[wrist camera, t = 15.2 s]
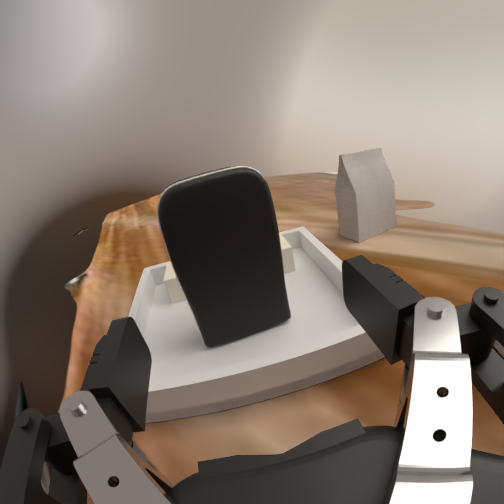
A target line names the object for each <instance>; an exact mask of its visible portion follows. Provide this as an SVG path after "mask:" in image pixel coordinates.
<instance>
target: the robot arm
mask: <svg viewBox="0 0 504 504" xmlns="http://www.w3.org/2000/svg"><path fill="white" fill-rule="evenodd" d="M342 281H343V297H344V302H345V305H346V307H347V309H348V311H349V312H350V313H351V314H352V316H353V317H354V318H355V319H356V321H357V322H358V323H359V324H360V326H361V327H362V328H363V329H364V331H365V332H366V333H367V335H368V336H369V337H370V338H371V340H372V341H373V342H374V343H375V345H376V346H377V347H378V349H379V350H380V351H381V352H382V354H383V355H384V356H385V358H386V359H387V360H388V361H389V363H390V364H391V365H392V364H394V363H396V362H398V361H400V360H403V362H404V363H405V366H404V372H403V379H402V386H401V393H400V399H399V405H398V410H397V415H396V419H395V423H394V426H393V427H392V426H368V427H362V425H361V423H360V422H359V420H358V418H357V419H355V420H352V421H350V422H347V423H345V424H342V425H340V426H337V427H334V428H332V429H329V430H326V431H323V432H320V433H319V434H317V435H315V436H314V437H312V438H310V439H308V440H307V441H305V442H303V443H301V444H300V445H298V446H296V447H294V448H292V449H291V450H289V451H287V452H285V453H282V454H277V455H235V456H230V457H225V458H219V459H213V460H206V461H199V462H198V469H199V472H198V473H195V474H193V475H191V476H189V477H187V478H185V479H184V480H182V481H180V482H179V483H178V484H176V485H175V486H174V485H173V484H172V483H171V482H170V481H169V480H168V479H167V478H166V477H165V476H164V475H163V474H162V473H161V472H160V471H159V470H158V469H157V468H156V467H155V465H154V464H153V463H152V462H151V461H150V460H149V458H148V457H147V456H146V455H145V454H144V453H143V451H142V450H141V449H140V448H139V446H138V445H137V444H136V443H135V442H134V441H133V440H132V436H133V432H140V431H145V421H146V410H147V399H148V390H149V381H150V373H151V365H152V358H151V353H150V350H149V348H148V346H147V344H146V342H145V340H144V338H143V336H142V334H141V332H140V330H139V328H138V326H137V324H136V322H135V320H134V319H133V318H132V317H126V318H121V319H117V320H113V321H112V322H111V325H110V327H109V330H108V333H107V335H104V336H103V337H102V339H101V340H100V341H99V342H98V344H97V345H96V347H95V350H94V352H93V357H92V358H91V361H90V365H89V366H88V369H87V372H86V375H85V378H84V381H83V384H82V387H81V390H80V391H78V392H75V393H73V394H71V395H70V396H68V397H67V398H66V399H65V400H64V402H63V403H62V405H61V407H60V413H57V414H54V415H51V416H48V417H46V418H45V417H44V416H43V415H42V414H41V413H40V412H39V411H38V410H37V409H34V408H29V409H26V410H24V411H23V412H22V413H20V414H19V416H18V417H17V418H16V420H15V422H14V425H13V428H12V431H11V434H10V437H9V441H8V444H7V447H6V451H5V455H4V459H3V462H2V466H1V470H0V504H87V491H88V493H89V495H90V497H91V498H92V500H93V502H94V503H95V504H504V456H500V455H495V454H490V453H486V452H482V451H477V450H473V449H471V444H472V383H473V384H474V386H475V387H476V388H477V390H478V391H479V392H480V393H481V395H482V396H483V397H484V399H485V400H486V401H487V402H488V404H489V405H490V406H491V408H492V409H493V410H494V412H495V413H496V414H497V416H498V417H499V419H500V420H501V421H502V423H503V424H504V360H503V359H502V358H501V357H500V356H499V354H498V353H497V352H496V351H495V350H494V349H493V346H494V343H495V341H496V340H497V341H498V342H499V343H500V344H501V345H502V346H503V347H504V293H503V292H501V291H500V290H498V289H495V288H491V287H482V288H479V289H477V290H476V291H475V292H474V294H473V298H472V302H471V303H469V304H465V305H460V306H455V307H454V305H453V304H452V303H451V302H449V301H448V300H446V299H443V298H439V297H428V298H425V297H424V296H422V295H421V294H420V293H419V292H418V291H416V290H415V289H414V288H413V287H412V286H410V285H409V284H408V283H407V282H405V281H403V279H402V278H400V277H399V276H397V275H396V274H395V273H394V272H393V271H392V270H390V269H389V268H387V267H385V266H382V265H379V264H372V263H371V262H370V261H369V260H367V259H366V258H365V257H364V256H362V255H360V256H356V257H353V258H350V259H347V260H344V261H343V262H342ZM44 461H45V462H46V463H48V464H49V465H50V466H51V467H52V473H51V479H50V486H49V494H46V493H45V491H44V490H43V488H42V485H41V476H42V470H43V465H44Z"/></svg>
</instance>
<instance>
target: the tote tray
mask: <svg viewBox="0 0 504 504" xmlns="http://www.w3.org/2000/svg"><path fill="white" fill-rule="evenodd" d="M280 234H281V235H282V236H283V237H284V238H285V239H286V241H287V242H288V243H289V244H290V245H291V247H292V251H293V257H294V264H295V270H296V271H293V272H290V273H286V274H284V277H285V285H286V291H287V296H288V302H289V307H290V312H291V318H290V319H289V320H286V321H284V322H282V323H280V324H277V325H275V326H272V327H270V328H267V329H265V330H262V331H260V332H257V333H254V334H251V335H249V336H246V337H243V338H240V339H237V340H233V341H230V342H227V343H224V344H220V345H216V346H213V347H207V346H206V345H205V343H203V341H202V338H201V335H200V332H199V330H198V327H197V324H196V322H195V319H194V316H193V314H192V312H191V309H190V307H189V305H188V302H187V300H185V301H181V302H177V303H173V304H172V302H171V299H170V297H169V294H168V292H167V289H166V287H165V284H164V281H163V280H164V275H165V270H166V265H167V262H166V263H162V264H158V265H155V266H151V267H147V268H144V270H143V273H142V276H141V279H140V282H139V285H138V288H137V291H136V294H135V297H134V300H133V303H132V306H131V309H130V312H129V316H128V317H132V318H133V319H134V320H135V322H136V324H137V326H138V328H139V330H140V332H141V334H142V336H143V338H144V340H145V342H146V344H147V346H148V348H149V350H150V353H151V358H152V365H151V373H150V381H149V390H148V399H147V410H146V421H145V423H151V422H159V421H167V420H174V419H180V418H187V417H192V416H198V415H203V414H209V413H214V412H218V411H223V410H228V409H232V408H237V407H241V406H245V405H249V404H253V403H257V402H261V401H264V400H268V399H271V398H275V397H278V396H282V395H285V394H289V393H292V392H295V391H298V390H301V389H304V388H307V387H310V386H313V385H316V384H319V383H322V382H325V381H328V380H330V379H333V378H336V377H338V376H341V375H344V374H346V373H349V372H351V371H354V370H356V369H359V368H361V367H364V366H366V365H368V364H371V363H373V362H375V361H378V360H380V359H382V358H384V357H385V356H384V355H383V354H382V352H381V351H380V350H379V349H378V347H377V346H376V345H375V343H374V342H373V341H372V340H371V338H370V337H369V336H368V335H367V333H366V332H365V331H364V329H363V328H362V327H361V326H360V324H359V323H358V322H357V321H356V319H355V318H354V317H353V316H352V314H351V313H350V312H349V311H348V309H347V307H346V305H345V302H344V297H343V281H342V261H341V260H340V259H339V258H338V257H337V256H336V255H334V254H333V253H332V252H331V251H330V250H329V249H328V248H327V247H326V246H325V245H323V244H322V243H321V242H320V241H319V240H318V239H317V238H316V237H314V236H313V235H312V234H311V233H310V232H309V231H308V230H307V229H305V228H304V227H299V228H295V229H291V230H287V231H284V232H280Z"/></svg>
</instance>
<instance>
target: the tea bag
mask: <svg viewBox="0 0 504 504" xmlns="http://www.w3.org/2000/svg"><path fill="white" fill-rule="evenodd" d="M394 191H395V190H394V181H393V179H392V176H391V173H390V171H389V169H388V166H387V164H386V162H385V159H384V157H383V154H382V150H381V148H376V149H371V150H365V151H360V152H355V153H350V154H345V155H340V156H339V169H338V175H337V180H336V186H335V193H336V202H337V211H338V221H339V232H340V235H342V236H345V237H347V238H349V239H352V240H354V241H356V242H359V243H360V242H362V241H364V240H367V239H369V238H371V237H373V236H375V235H378V234H380V233H382V232H384V231H386V230H389V229H391V228H393V227H395V226H396V214H395V192H394Z"/></svg>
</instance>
